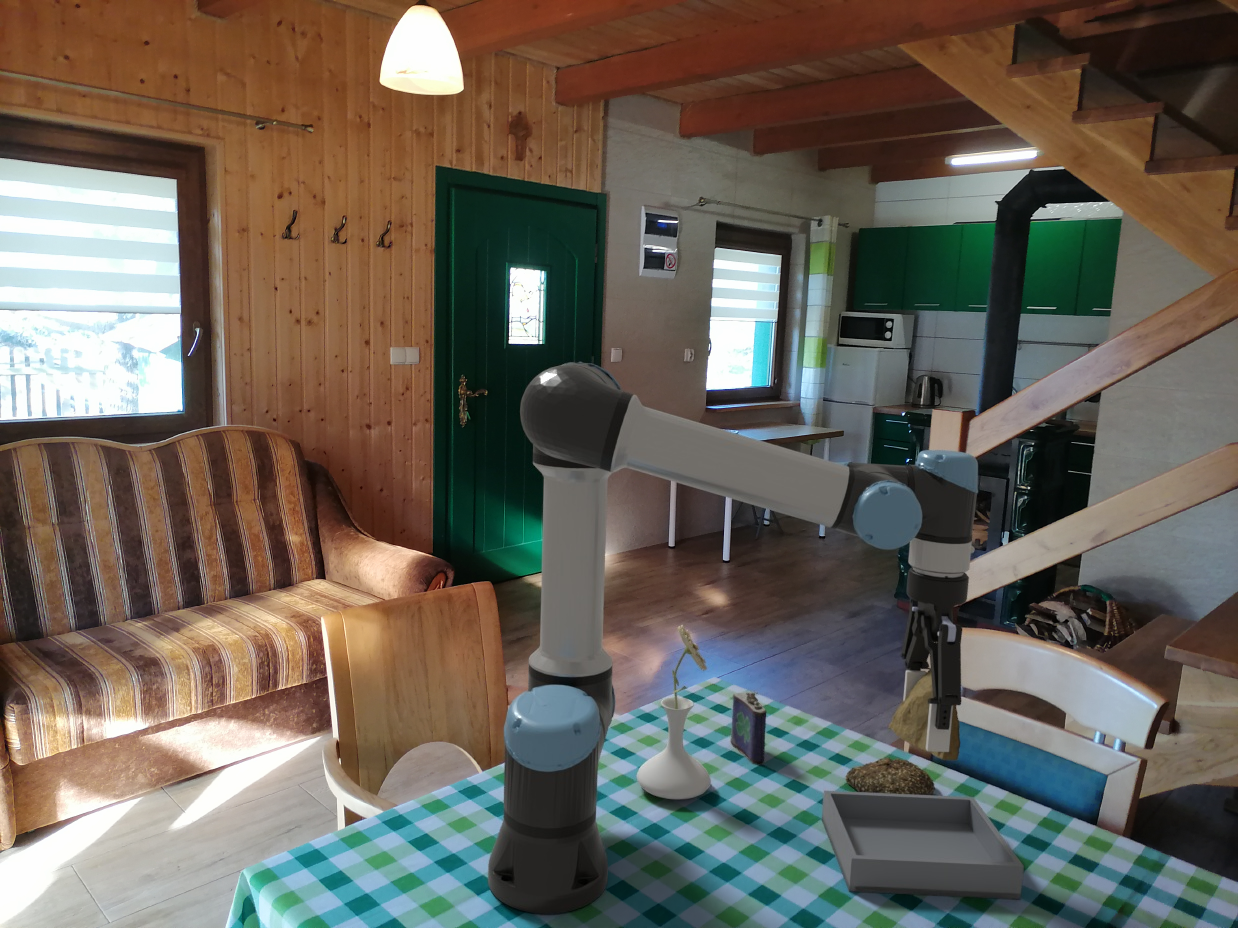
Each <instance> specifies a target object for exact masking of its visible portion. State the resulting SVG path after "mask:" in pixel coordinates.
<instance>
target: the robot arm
mask: <svg viewBox="0 0 1238 928" xmlns="http://www.w3.org/2000/svg"><path fill="white" fill-rule="evenodd" d="M519 413H520V422H521V426H522V429H523V431H524V433H525V436H526V437H527V439H528V440H529V441H530V443H532V447H533V449H532V464H533V466H535V468H536V469H537V470H538V471H539V472H540V473H541V474H542V477H543V500H542V501H543V505H542V508H543V509H542V511H543V512H542V542H541V543H542V544H541V545H542V550H541V551H542V552H541V553H542V554H541V585H540V586H541V588H540V593H541V594H540V595H541V596H540V635H539V636H540V637H539V638H540V640H539V644H540V645H539V647H538V648H537V649H535V651H534V652H532V653H531V654H530V656H529V657H528V674H527V679H528V681H527V690H526V691H525V690H524V692H521V693H520V694H519V695H517V696H516V697H515V698H514V699H513V700H512V701H511V703H510V705H509V706H508V708H507V713H506V716H505V717H506V718H505V722H504V726H503V741H504V766H503V768H504V771H503V772H504V773H503V774H504V776H503V778H504V779H503V819H502V823H501V827H500V829H499V832H498V834H497V837H496V839H495V842H494V845H493V848H492V851H491V853H490V856H489V859H488V868H487V883H488V888H489V889H490V891H491V893H492V894H493V895H494V896H495V897H496V898H497V899H498V900H499V901H501V902H502V903H504V904H505V905H507V906H508V907H511V908H514V909H516V910H519V911H523V912H526V913H533V914H545V915H546V914H561V913H568V912H572V911H575V910H578V909H581V908H584V907H585V906H588V905H590V904H591V903H593V902H594V901H595V900H597V899H598V898H599V897H600V896H601V895H602V893H604V891H605V889H606V887H607V884H608V876H609V875H608V873H609V864H608V863H609V862H608V856H607V853H606V850H605V847H604V844H603V841H602V837H601V833H600V830H599V827H598V823H597V804H598V802H597V798H598V776H599V775H598V774H599V766H600V765H599V763H600V759H601V755H602V752H603V747H604V744H605V741H606V737H607V734H608V731H609V727H610V726H611V723H612V721H613V720H612V719H613V718H614V716H615V712H616V711H615V710H616V694H615V688H614V684H613V665H614V663H613V658H612V656H611V655H610V654H609V653H608V652H607V651H606V649H605V648H603V639H604V637H603V634H604V633H603V631H604V629H603V628H604V608H605V606H604V605H605V604H604V603H605V575H606V571H605V570H606V546H607V545H606V542H607V541H606V540H607V539H606V538H607V516H608V515H607V514H608V513H607V512H608V511H607V509H608V484H609V483H608V480H609V477H610V476H611V475H612V474H613V473H616V472H618V471H620V470H621V469H625V468H626V469H630V470H633V471H637V472H640V473H644V474H647V475H650V476H652V477H657V478H661V479H663V480H667V481H669V482H670V481H671V482H674V483H677V484H681V485H685V486H688V487H691V488H695V489H697V490H702V491H705V492H707V493H711V494H714V495H719V496H722V497H725V498H729V499H732V500H736V501H739V502H742V503H746V504H748V505H751V506H752V505H753V506H755V507H756V506H757V507H760V508H763V509H766V510H770V511H773V512H776V513H780V514H783V515H787V516H790V517H794V518H797V519H801V520H804V521H807V522H810V523H811V522H812V523H814V524H817V525H821V526H823V527H827V528H830V529H834V530H836V531H839V532H842V533H845V534H849V535H852V536H855V537H858V538H860V539H861V540H862V541H863V542H865V543H866V544H867V545H870V546H872V547H874V548H877V549H880V550H896V549H898V548H902V547H905V546H906V545H908V544H909V550H908V560H907V561H908V564H909V565H910V566H911V567H910V568H909V569H908V571H907V580H906V581H907V582H906V590H905V591H906V595H907V596H908V597H909V611H908V618H907V623H906V628H905V633H904V638H903V639H904V640H903V642H902V643H903V644H902V649H901V654H900V658H901V659H902V660H904V668H905V669H906V670H905V674H904V675H905V677H904V687H903V700H902V702H903V701H904V700H905V699H906V698H907V697H908V695H909V693H910V691H911V690H912V689H913V688H914V686H915V684H916V683H917V682H918V681H919V680H920V679H921V678H922V676H923V675H925V674H926V673H927V672H928V671H926V670H929V669H930V668H931V677H932V689H933V698H929V699H927V700H928V703H929V704H930V705H929V716H928V728H927V739H926V750H927V751H936V752H949V744H950V733H951V723H952V712H953V705H956V706H961V705H962V662H961V661H962V654H961V653H962V649H961V648H962V646H961V644H962V635H963V626H962V624H955V618H954V616H953V609H954V607H956V606H961V605H964V604H965V603H966V602H967V601H968V593H969V580H970V577H969V576H968V574H967V573H966V572H968V571H969V570H970V567H971V566H970V565H971V564H970V563H971V554H974V552H975V551H976V549H975V547H974V546H973V545H972V543H973V530H974V522H975V521H974V520H975V515H976V514H975V512H976V504H977V495H978V494H979V489H978V485H979V484H978V481H979V463H978V460H977V459H976V457H975V456H973V455H972V454H970V453H966V452H962V451H956V450H945V449H942V450H941V449H934V450H932V449H925V450H922V451H920V452H919V453H918V455H917V457H916V458H917V460H916V461H915V463H914V464H909V465H898V464H896V465H895V464H881V463H880V464H879V463H865V462H863V463H862V462H853V461H852V460H851V461H848V460H847V461H846V462H845V461H844V462H840V461H839V462H835V461H834V462H833V461H830V460H827V459H823V458H821V457H816V456H813V455H810V454H807V453H803V452H801V451H797V450H796V451H795V450H793V449H790V448H786V447H783V446H779V445H777V444H772V443H769V442H766V441H762V440H759V439H755V438H753V437H749V436H745V435H742V434H739V433H735V432H732V431H728V430H725V429H723V428H718V427H714V426H713V425H712V426H711V425H708V424H704V423H701V422H698V421H694V420H691V419H688V418H685V417H682V416H678V415H675V414H670V413H667V412H665V411H664V412H663V411H660V410H657V409H655V408H651V407H647V406H644V405H643V404H642V403H641V401H640V398H639V397H638V395H636V394H633V393H631V392H626V391H623V390H622V388H621V386H620V384H619V383H618V381H617V380H616V378H615V377H614V376H613V375H611V373H610V372H609V371H607V370H606V369H604V368H602V367H600V366H599V365H596V364H594V363H588V362H587V363H586V362H582V361H578V362H566V363H564V364H561V365H558V366H553V367H549V368H548V369H545V370H543V371H542V372H540V373H538V375H537V374H536V376H535V377H534V378H533V379H532V380H531V381H530V382H529V384H528V385H527V386H526V388H525V390H524V393H523V395H522V397H521V400H520V410H519ZM928 659H929V662H928ZM947 694H948V695H947Z"/></svg>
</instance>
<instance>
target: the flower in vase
mask: <svg viewBox="0 0 1238 928" xmlns="http://www.w3.org/2000/svg"><path fill="white" fill-rule="evenodd" d="M677 631H678V633H679V636H680V638H681V641H682V643H683V645H684V651H683V652H682V654H681V656H680V658H679V660H678V662H677V664H676V667H675V669H672V670H671V674H672V678H673V691H672V692H671V694H674V696H669V697H665V698H663V699H662V700H661V701H660V705H661V706H662V708H663V709H664V711H665V714H666V717H667V724H668V738H667V744H666V746H665V748H664V749H663V750H662V751H661V752H659V753H657V754H656V755H654V756H652V757H651V758H649V759H647V760H646V761H645V762H644V763H643V764H642V765H641V766H640V767H639V769H638V770H637V773H636V781H637V784H639V785H640V787H641V789H643V790H644V791H645V792H647V793H649V794H651V795H653V796H656V797H658V798H663V799H668V800H688V799H692V798H696V797H699V796H701V795H703V794H704V793H705V792H707V790H708V789H709V788H710V786H711V784H712V780H711V776H710V773H709V772H708V770H707V769H706V768H705V767H704V766H703V764H702V763H700V761H698V760H697V759H696V758H695V757H693V756H692V755H690V754H689V753H688V752H687V750H686V749H685V747H684V729H685V725H686V724H685V723H686V719H687V717H688V714H689V713H690V711H691V710H692V709H693V708H694V706H695V704H694V701H692V700H691V699H688V698H687V697H686V698H685V697H681V696H678V694H677V693H678V692H680V691H683V690H687V689H688V687H687V686H685V685H683V686H682V687H681V688H679V689H677V686H678V687H679V686H680V683H679V680H678V678H677V672H678V670H679V667H680V665H681V663H682V661H683V659H684V657H685V656H686V654H687V655H690V657H691V658H692V660H693V661H694V662H695V664H696V665H697V666H698V668H699V669H700V670H701V671H703V672H704V671H707V669H708V667H707V665H706V664H707V663H706V660H705V658H704V657H702V655H701V653H700V652H699V650H700V647H699V646H698V645H697V643H695V642H693V639H692V637H691V634H690V632H689V630H688V629H686V628H685V627H684V625H683V624H681V625H679V626H678V627H677Z"/></svg>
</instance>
